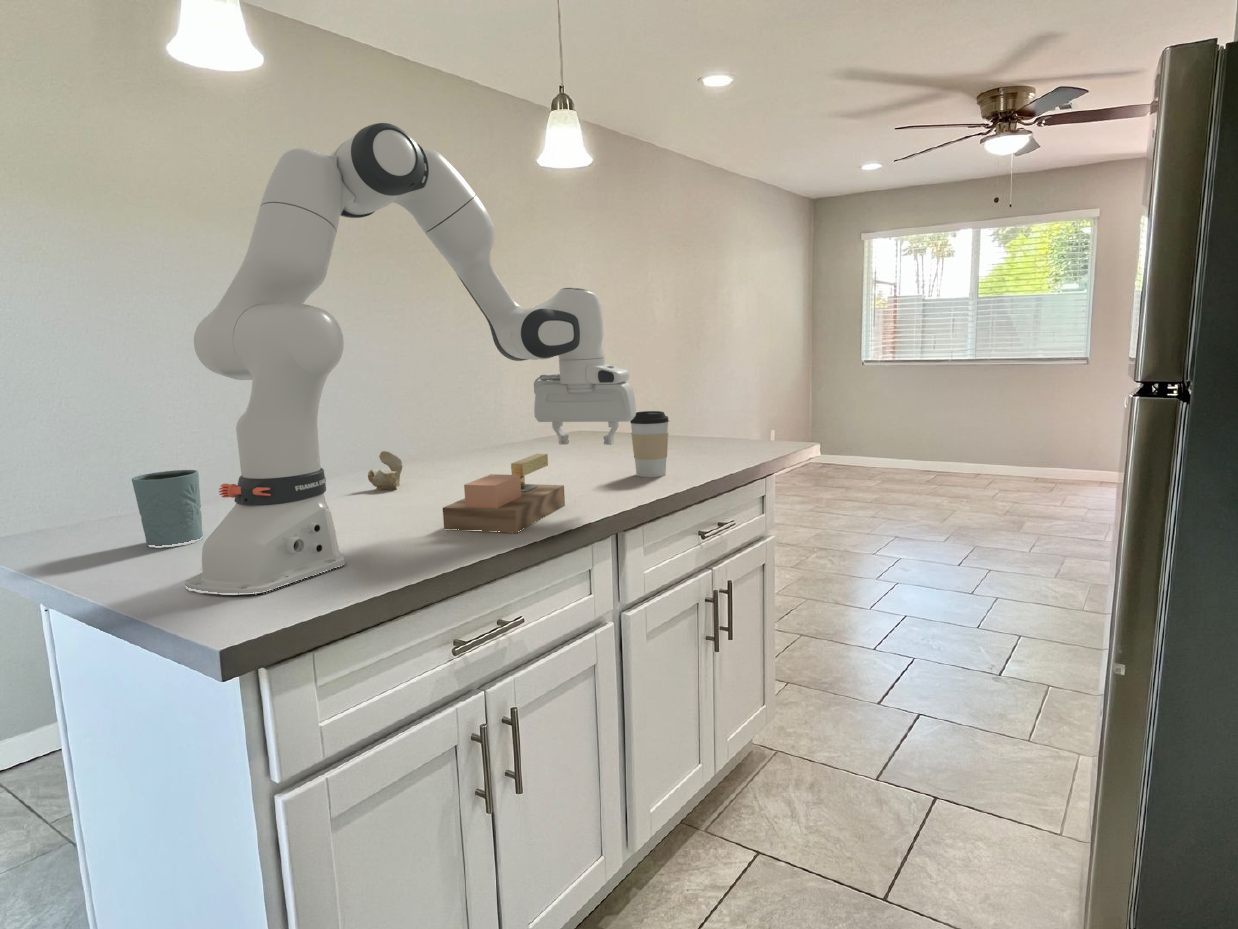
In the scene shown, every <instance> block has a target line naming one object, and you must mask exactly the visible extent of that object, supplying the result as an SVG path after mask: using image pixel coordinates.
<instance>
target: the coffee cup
mask: <svg viewBox="0 0 1238 929" xmlns="http://www.w3.org/2000/svg"><path fill="white" fill-rule="evenodd" d="M629 422H630V426H631V442H632V443H631V444H632V451H633V457H634V463H635V464H634V465H635V471H636V476H637V477H639V478H659V477H664V476H666V473H667V458H668V449H669V448H668V447H669V446H668V444H669V422H670V420H669V416H668V415H666V414H665V412H664V411H662V410H660V411H659V410H650V411H649V410H644V411H636V416H635V417H634V418H633V420H631V421H629Z"/></svg>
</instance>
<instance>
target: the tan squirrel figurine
mask: <svg viewBox="0 0 1238 929" xmlns="http://www.w3.org/2000/svg"><path fill="white" fill-rule="evenodd" d="M378 457H379V460H380V462H381V463H383V464H384V465H386V466H387V467H388V468H389V469H390V470H387V469H379V470H377V471H376V470H374V469H373V468H372V469H370V470H369V471H368V474H367V478H368V481H369V483H371V484H372V486H373V487H375V489H374V490H375V491H382V490H396V491H397V490H398V487H400V481H401V474H402V470H403V461H402V459H401V458H400V457H399V456H397V455H396V454H394V453H393V452H390V451H386V450H382V451H381V452H380V453H379V456H378Z"/></svg>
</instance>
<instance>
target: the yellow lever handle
mask: <svg viewBox="0 0 1238 929" xmlns="http://www.w3.org/2000/svg"><path fill="white" fill-rule="evenodd" d="M548 457H549V456H548V453H535V454H532V455H529V456H527V457H524V458H522V459H519V460H517V461H514V462H511V463H510V469H511V472H510V473H511V475H520V481H521V488H525V484H526V481H525V480H526V479H525V476H527V475H529V474H531V473H534V472H536V471H538V470H541V469H543V468H545V467H547V466H549V459H548Z"/></svg>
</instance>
